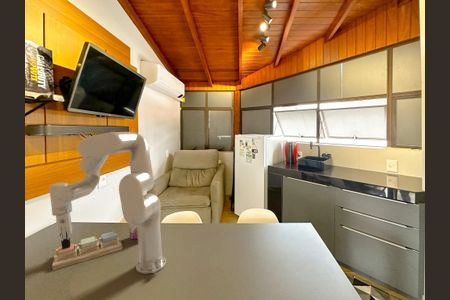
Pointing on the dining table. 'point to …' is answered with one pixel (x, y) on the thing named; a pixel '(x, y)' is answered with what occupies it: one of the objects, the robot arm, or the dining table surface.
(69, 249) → the terracotta button
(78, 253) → the button panel
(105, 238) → the slate button
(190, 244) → the dining table surface
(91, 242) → the sage button
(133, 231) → the candy bar box
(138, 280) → the dining table surface
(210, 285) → the dining table surface
